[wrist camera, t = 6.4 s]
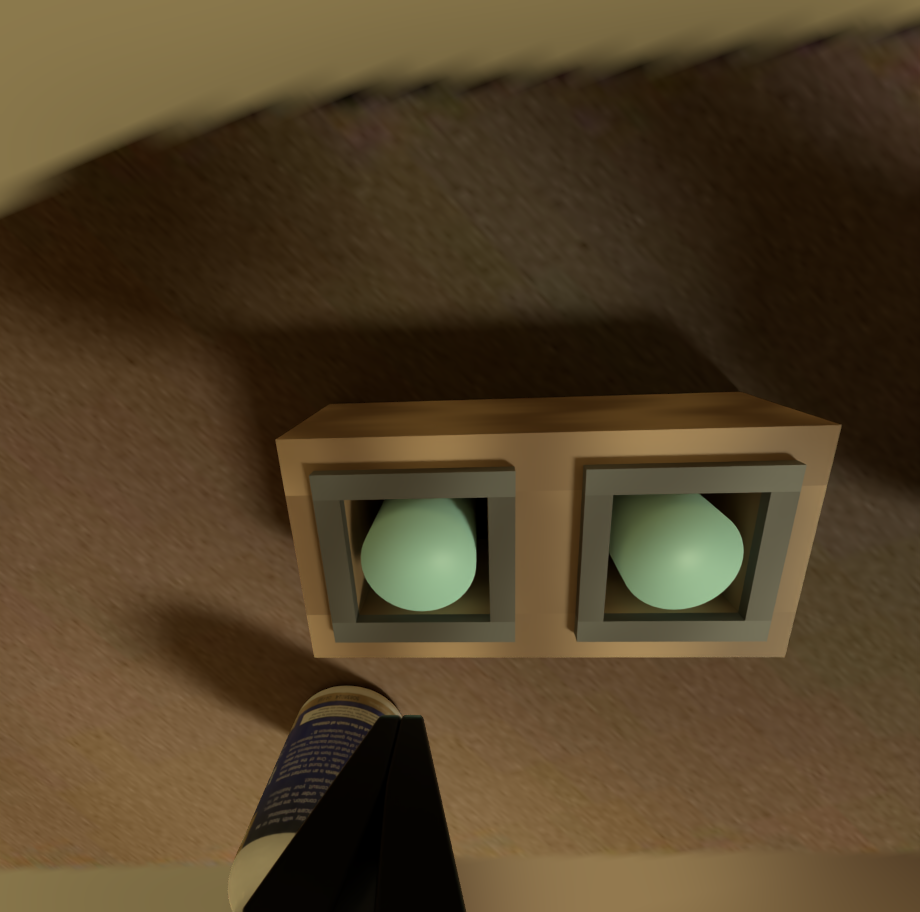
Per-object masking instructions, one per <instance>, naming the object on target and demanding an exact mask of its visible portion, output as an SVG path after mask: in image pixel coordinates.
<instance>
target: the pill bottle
mask: <svg viewBox="0 0 920 912" xmlns="http://www.w3.org/2000/svg"><path fill="white" fill-rule="evenodd" d="M382 715H399V716H401V714H400V713H399V711H398V709H397V708H396V707H395V706H394V705H393V704H392V703H391V702H390V701H389V700H388V699H387V698H385V697H384V696H382V695H381V694H379V693H377V692H375V691H372V690H370V689H366V688H363V687H358V686H336V687H331V688H328V689H325V690H322V691H320V692H318V693H317V694H315V695H314V696H312V697H311V698H310V699H309V700H308V701H307V702H306V703H305V704H304V705H303V706H302V708H301V710H300V711H299V713H298V715H297V717H296V720H295V722H294V724H293V726H292V729H291V731H290V733H289V735H288V738H287V740H286V742H285V745H284V747H283V749H282V751H281V754H280V756H279V758H278V761H277V763H276V765H275V767H274V770H273V772H272V774H271V777H270V779H269V781H268V783H267V786H266V788H265V790H264V793H263V795H262V797H261V799H260V802H259V804H258V806H257V809H256V811H255V813H254V815H253V818H252V820H251V822H250V825H249V827H248V829H247V831H246V834H245V836H244V838H243V840H242V843H241V845H240V847H239V850H238V852H237V854H236V857H235V859H234V862H233V865H232V867H231V870H230V874H229V879H228V898H229V903H230V906H231V909H232V912H242V910H243V907H244V906H245V904H246V903H247V902H248V900H249V899H250V897H251V896H252V895H253V893H254V892H255V890H256V889H257V888H258V886H259V885H260V883H261V882H262V880H263V879H264V878H265V876H266V875H267V873H268V872H269V871H270V869H271V868H272V866H273V865H274V864H275V862H276V861H277V859H278V858H279V857H280V855H281V854H282V852H283V851H284V850H285V848H286V847H287V845H288V844H289V843H290V841H291V840H292V838H293V837H294V836H295V834H296V833H297V831H298V830H299V828H300V827H301V826H302V824H303V823H304V821H305V820H306V819H307V817H308V816H309V814H310V813H311V812H312V810H313V809H314V807H315V806H316V805H317V803H318V802H319V800H320V799H321V798H322V796H323V795H324V793H325V792H326V791H327V789H328V788H329V786H330V785H331V784H332V782H333V781H334V779H335V778H336V776H337V775H338V774H339V772H340V771H341V769H342V768H343V767H344V765H345V764H346V762H347V761H348V760H349V758H350V757H351V755H352V754H353V753H354V751H355V750H356V748H357V747H358V746H359V744H360V743H361V741H362V740H363V739H364V737H365V736H366V734H367V733H368V732H369V730H370V729H371V727H372V726H373V725H374V723H375V722H376V720H377V719H378V718H379V717H380V716H382ZM401 718H402V716H401Z"/></svg>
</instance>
